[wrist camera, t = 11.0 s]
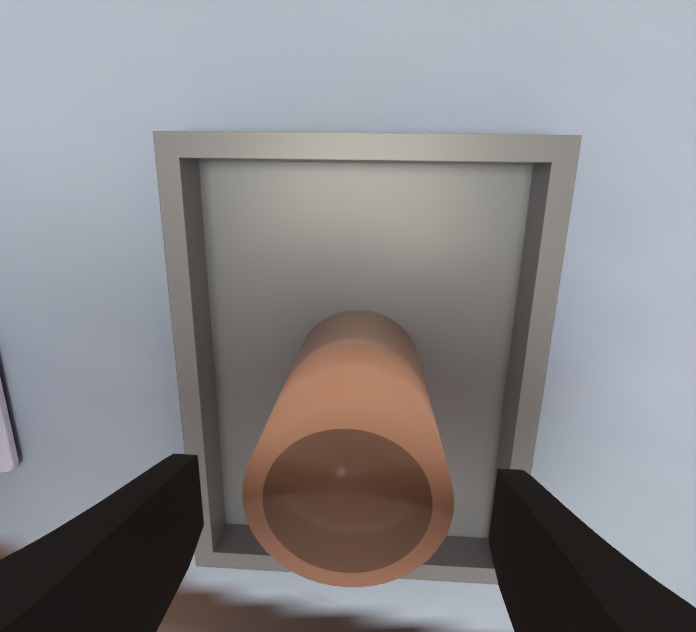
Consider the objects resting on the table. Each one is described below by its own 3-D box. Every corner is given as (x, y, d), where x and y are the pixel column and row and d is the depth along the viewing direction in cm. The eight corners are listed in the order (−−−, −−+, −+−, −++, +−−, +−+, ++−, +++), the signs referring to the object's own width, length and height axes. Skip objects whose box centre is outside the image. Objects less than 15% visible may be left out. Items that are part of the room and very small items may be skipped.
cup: (298, 421, 19) (247, 582, 11) (296, 308, 18) (235, 404, 10) (416, 425, 19) (445, 594, 11) (423, 311, 17) (463, 414, 10)
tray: (215, 524, 22) (195, 566, 19) (184, 139, 17) (152, 130, 14) (497, 540, 21) (514, 585, 19) (551, 143, 16) (581, 135, 14)
